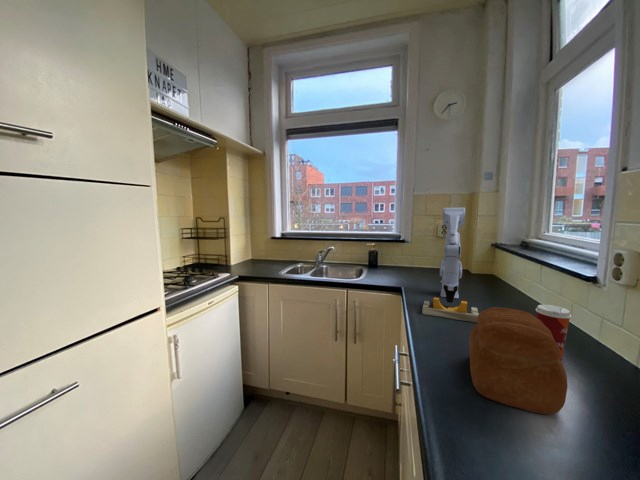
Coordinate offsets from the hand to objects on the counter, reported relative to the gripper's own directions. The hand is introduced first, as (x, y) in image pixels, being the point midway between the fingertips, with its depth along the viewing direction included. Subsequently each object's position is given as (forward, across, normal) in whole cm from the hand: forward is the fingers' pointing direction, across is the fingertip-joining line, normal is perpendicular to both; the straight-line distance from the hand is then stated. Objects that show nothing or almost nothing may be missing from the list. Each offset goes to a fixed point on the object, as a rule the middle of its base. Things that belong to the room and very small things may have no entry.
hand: (449, 302), depth 113 cm
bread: (+2, +50, +13) cm, 52 cm away
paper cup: (+2, +30, +26) cm, 40 cm away
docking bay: (+2, +8, 0) cm, 9 cm away
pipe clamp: (+2, +10, 0) cm, 10 cm away
